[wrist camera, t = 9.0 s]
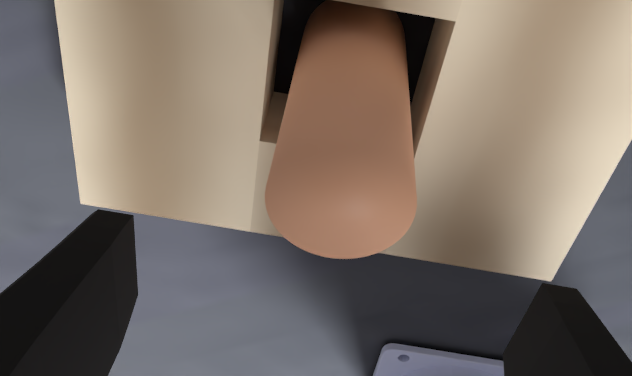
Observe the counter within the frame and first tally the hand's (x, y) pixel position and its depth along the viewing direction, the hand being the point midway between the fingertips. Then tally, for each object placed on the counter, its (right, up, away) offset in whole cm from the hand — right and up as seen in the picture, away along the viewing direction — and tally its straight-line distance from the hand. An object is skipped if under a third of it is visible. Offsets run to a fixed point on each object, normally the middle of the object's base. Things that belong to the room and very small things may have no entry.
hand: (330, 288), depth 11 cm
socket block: (+1, +6, +8) cm, 10 cm away
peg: (+1, +6, +8) cm, 10 cm away
